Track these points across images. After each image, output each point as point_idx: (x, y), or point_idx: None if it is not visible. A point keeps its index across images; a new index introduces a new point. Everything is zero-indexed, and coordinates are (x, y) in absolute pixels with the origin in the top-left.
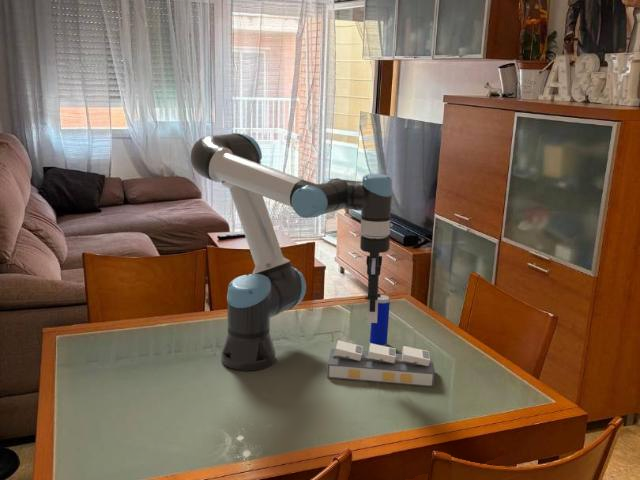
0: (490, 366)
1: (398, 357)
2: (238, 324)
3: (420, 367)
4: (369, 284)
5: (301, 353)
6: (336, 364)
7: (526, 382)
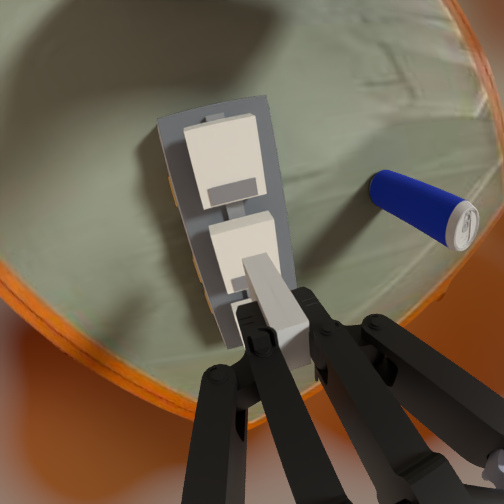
0: None
1: None
2: None
3: None
4: (189, 488)
5: (274, 24)
6: (162, 142)
7: None
